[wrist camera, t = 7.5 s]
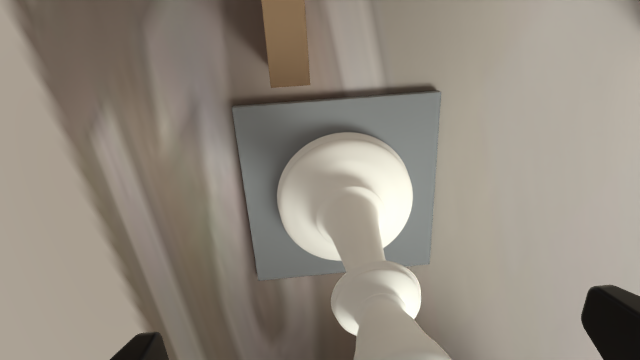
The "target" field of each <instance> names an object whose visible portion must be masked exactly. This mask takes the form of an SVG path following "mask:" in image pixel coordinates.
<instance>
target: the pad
mask: <svg viewBox="0 0 640 360" xmlns="http://www.w3.org/2000/svg"><path fill="white" fill-rule="evenodd" d="M440 103H441V92H440V91H426V92H412V93H399V94H386V95H373V96H359V97H346V98H333V99H320V100H306V101H293V102H280V103H267V104H253V105H240V106H233V107H232V112H233V118H234V125H235V131H236V138H237V144H238V151H239V157H240V164H241V170H242V177H243V183H244V190H245V196H246V203H247V209H248V216H249V222H250V229H251V235H252V242H253V248H254V255H255V261H256V268H257V274H258V281H260V280H271V279H281V278H291V277H302V276H312V275H322V274H332V273H343V272H346V270H345V267H344V265H343V263H342V261H336V260H328V259H324V258H320V257H317V256H315V255H313V254H311V253H309V252H307V251H305V250H304V249H302V248H301V247H300V246H299V245H297V244H296V243H295V242H294V241H293V240H292V238H291V237H290V236H289V234H288V233H287V231H286V230H285V228H284V226H283V223H282V220H281V217H280V213H279V209H278V204H277V189H278V184H279V180H280V177H281V175H282V172H283V170H284V168H285V167H286V165H287V164H288V162H289V161H290V159H291V158H292V157H293V156H294V155H295V154H296V153H297V152H298V151H299V150H300V149H301V148H303V147H304V146H305V145H307V144H308V143H310V142H312V141H314V140H316V139H318V138H320V137H323V136H326V135H330V134H334V133H342V132H354V133H361V134H365V135H369V136H372V137H374V138H377V139H379V140H381V141H382V142H384V143H386V144H387V145H388V146H390V147H391V148H392V149H393V150H394V151H395V152H396V153H397V154H398V155H399V157H400V158H401V160H402V161H403V163H404V165H405V167H406V169H407V172H408V175H409V177H410V180H411V184H412V190H413V202H412V208H411V212H410V215H409V218H408V220H407V222H406V224H405V226H404V228H403V229H402V231H401V232H400V233H399V234H398V236H397V237H396V238H395V239H394V240H393V241H392V242H391V243H390V244H388V245H387V246H386V247H384V248H383V250H384V256H385V260H386V261H392V262H395V263H398V264H401V265H403V266H415V265H425V264H430V250H431V235H432V220H433V206H434V191H435V176H436V162H437V147H438V132H439V118H440Z"/></svg>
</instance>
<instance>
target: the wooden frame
mask: <svg viewBox="0 0 640 360" xmlns="http://www.w3.org/2000/svg"><path fill="white" fill-rule="evenodd" d="M261 2H262V11H263V20H264V29H265V38H266V47H267V57H268V66H269V75H270V84H271V88H276V87H289V86H303V85H310V75H309V60H308V46H307V31H306V17H305V2H304V0H261Z"/></svg>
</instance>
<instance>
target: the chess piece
mask: <svg viewBox="0 0 640 360" xmlns="http://www.w3.org/2000/svg"><path fill="white" fill-rule="evenodd" d="M412 202H413V190H412V184H411V180H410V177H409V175H408V172H407V169H406V167H405V165H404V163H403V161H402V160H401V158H400V157H399V155H398V154H397V153H396V152H395V151H394V150H393V149H392V148H391V147H390V146H388V145H387V144H386V143H384V142H382V141H381V140H379V139H377V138H374V137H372V136H369V135H365V134H361V133H354V132H342V133H334V134H330V135H326V136H323V137H320V138H318V139H316V140H314V141H312V142H310V143H308V144H307V145H305V146H304V147H303V148H301V149H300V150H299V151H298V152H297V153H296V154H295V155H294V156H293V157H292V158H291V159H290V161H289V162H288V164H287V165H286V167H285V168H284V170H283V172H282V175H281V177H280V180H279V184H278V189H277V204H278V209H279V213H280V217H281V220H282V223H283V226H284V228H285V230H286V231H287V233H288V234H289V236H290V237H291V238H292V240H293V241H294V242H295V243H296V244H297V245H299V246H300V247H301V248H302V249H304V250H305V251H307V252H309V253H311V254H313V255H315V256H317V257H320V258H324V259H328V260H336V261H342V263H343V265H344V267H345V270H346V273H345V274H344V275H343V276H342V277H341V278H340V279H339V280H338V282H337V283H336V285H335V287H334V289H333V292H332V296H331V307H332V311H333V313H334V315H335V317H336V319H337V320H338V322H339V323H340V325H341V326H342V327H343V328H344V329H345V330H346V331H348V332H349V333H351V334H353V335H355V336H357V337H356V350H355V355H354V360H452V359H451V358H450V356H449V355H448V354H447V353H446V352H445V351H444V350H443V349H442V348H441V347H440V346H439V344H438V343H436V342H435V341H434V340H433V339H431V338H430V337H429V336H428V335H427V334H426V333H425V332H424V331H423V330H422V329H421V328H420V326H419V325H418V324H417V322H416V321H415V320H414V318H415V317H416V315H417V314H418V312H419V309H420V305H421V288H420V284H419V282H418V279H417V278H416V276H415V275H414V274H413V273H412V272H411V271H410V270H409V269H408V268H406V267H405V266H403V265H401V264H398V263H395V262H392V261H386V260H385V256H384V250H383V248H384V247H386V246H387V245H388V244H390V243H391V242H392V241H393V240H394V239H395V238H396V237H397V236H398V234H399V233H400V232H401V231H402V229H403V228H404V226H405V224H406V222H407V220H408V218H409V215H410V212H411V208H412Z"/></svg>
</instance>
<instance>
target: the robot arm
mask: <svg viewBox="0 0 640 360" xmlns="http://www.w3.org/2000/svg"><path fill="white" fill-rule="evenodd" d="M581 321H582V324H583V327H584V329H585V330H586V332H587V334H588V335H589V337H590V339H591V340H592V342H593V343H594V345H595V347H596V348H597V350H598V351H599V353H600V355H601V356H602V358H603V360H640V296H638V295H635V294H633V293H631V292H628V291H626V290H624V289H621V288H619V287H616V286H614V285H602V286H594V287H591V288H590V289H589V291H588V293H587V297H586V300H585V304H584V307H583V311H582V314H581ZM110 360H169V358H168V355H167V351H166V348H165V345H164V342H163V338H162V336H161V334H160V333H159V332H148V333H141V334H138V335H136V336H135V337H134V338H133V339H132V340H130V341H129V342H128V343H127V344H126V345H125V346H124V347H123V348H122V349H121V350H120V351H118V352H117V353H116V354H115V355H114V356H113V357H112V358H111V359H110Z"/></svg>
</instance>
